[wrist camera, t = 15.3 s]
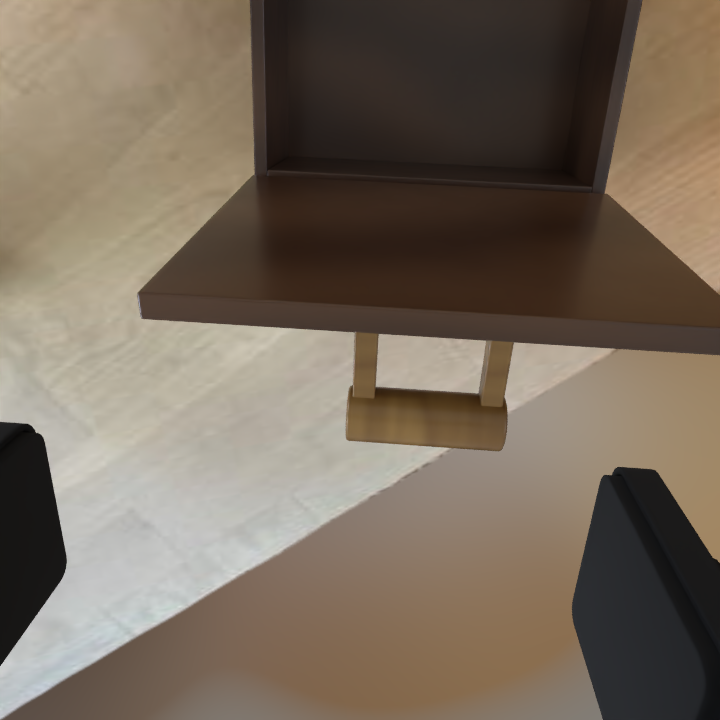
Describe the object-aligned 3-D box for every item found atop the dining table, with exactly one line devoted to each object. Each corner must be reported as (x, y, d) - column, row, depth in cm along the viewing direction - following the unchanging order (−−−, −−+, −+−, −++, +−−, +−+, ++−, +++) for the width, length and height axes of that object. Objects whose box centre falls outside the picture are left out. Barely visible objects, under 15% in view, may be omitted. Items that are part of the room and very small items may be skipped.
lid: (135, 292, 17) (160, 460, 19) (762, 330, 16) (696, 499, 19) (252, 174, 29) (257, 287, 32) (608, 193, 28) (582, 307, 31)
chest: (277, -120, 30) (245, -171, 24) (619, -109, 29) (674, -159, 23) (280, 165, 35) (254, 182, 29) (569, 180, 35) (603, 200, 29)
